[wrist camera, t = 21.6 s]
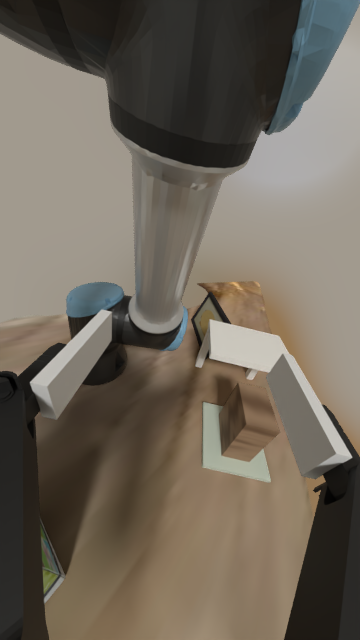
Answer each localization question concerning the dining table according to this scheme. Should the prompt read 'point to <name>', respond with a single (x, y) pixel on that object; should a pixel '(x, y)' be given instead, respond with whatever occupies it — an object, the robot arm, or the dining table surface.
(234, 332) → the small white table
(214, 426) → the mat
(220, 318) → the picture frame
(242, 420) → the walnut block
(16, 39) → the robot arm
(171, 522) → the dining table surface
